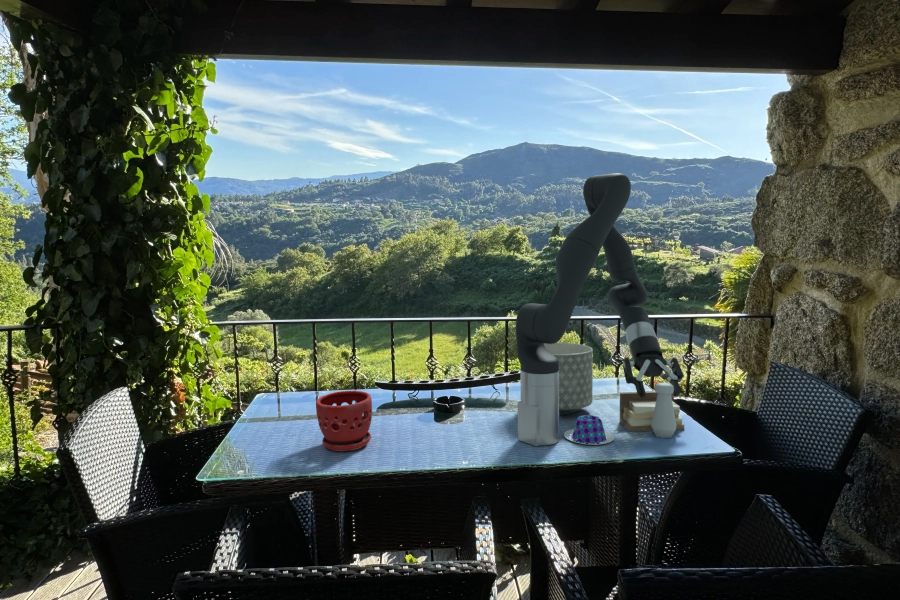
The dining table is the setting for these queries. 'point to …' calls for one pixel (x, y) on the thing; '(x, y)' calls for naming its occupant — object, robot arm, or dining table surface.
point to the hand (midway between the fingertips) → (660, 395)
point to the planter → (573, 375)
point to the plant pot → (345, 419)
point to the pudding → (589, 431)
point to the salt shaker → (664, 411)
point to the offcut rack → (642, 411)
